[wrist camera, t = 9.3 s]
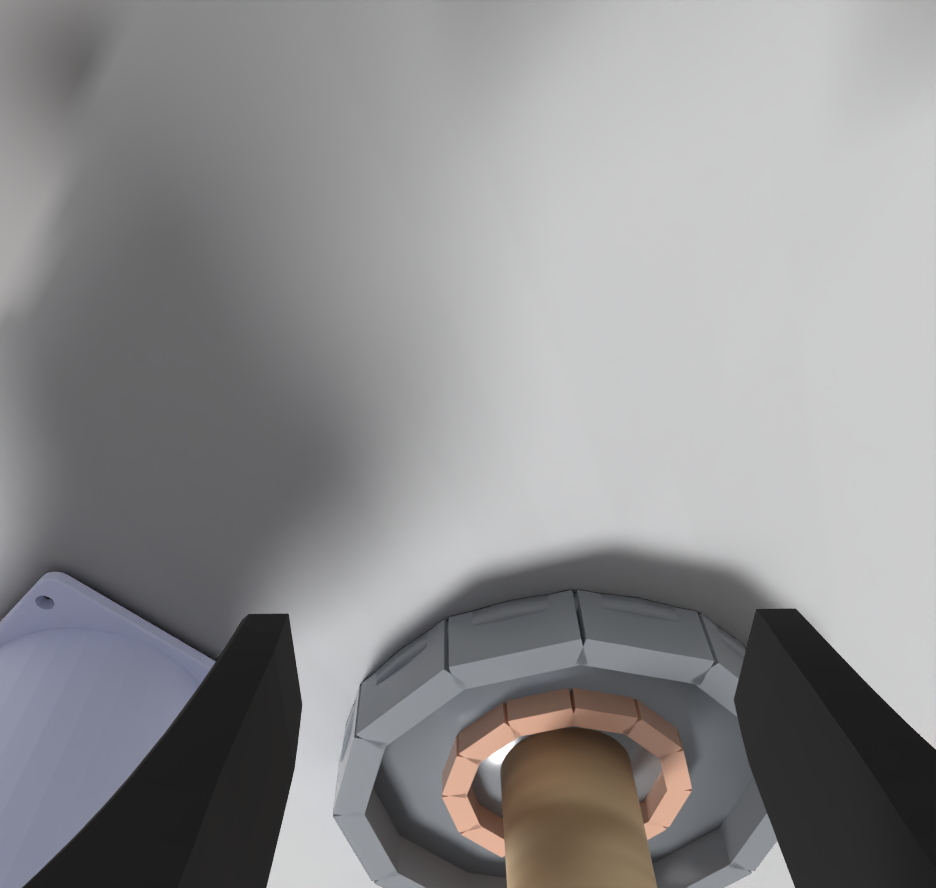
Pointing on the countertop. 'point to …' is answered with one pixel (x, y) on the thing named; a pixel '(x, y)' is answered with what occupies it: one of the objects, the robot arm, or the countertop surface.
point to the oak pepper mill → (573, 814)
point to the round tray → (543, 709)
